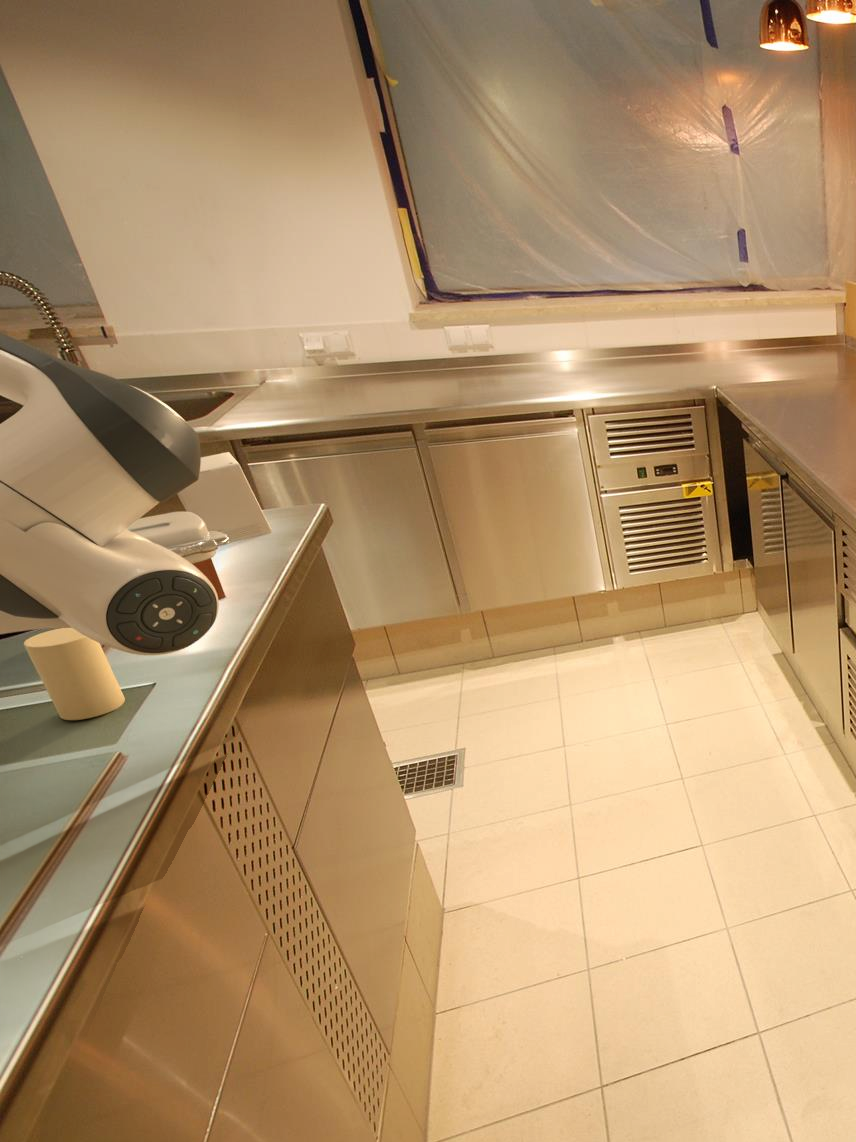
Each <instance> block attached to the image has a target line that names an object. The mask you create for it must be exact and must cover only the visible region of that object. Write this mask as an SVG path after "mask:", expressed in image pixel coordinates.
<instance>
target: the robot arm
mask: <svg viewBox="0 0 856 1142" xmlns="http://www.w3.org/2000/svg"><path fill="white" fill-rule="evenodd" d="M0 396H1V397H3V398H5V399H8V400H10V401H12V402H15V403H17V404H19V405H21V406H22V407H21V408H20V409H19V410H18V411H17V412H16V413H14V414H13V415H11V416H10V417H9V418H7V419H5V420H4V421H3V422H1V423H0V636H1V635H8V634H13V633H20V632H28V631H29V632H30V631H35V630H36V631H37V630H47V629H60V628H73V629H75V630H76V631H78V632H80V633H81V634H83V635H84V636H86V637H88V638H90V639H92V640H94V641H96V642H98V643H100V645H101V644H102V646H105V647H108V648H112V649H114V650H118V651H121V652H123V653H128V654H132V655H137V656H138V655H139V656H162V655H168V654H172V653H176V652H179V651H181V650H184V649H185V648H188V647H190V646H192V645H194V644H195V643H196V642H198V641H200V640H201V639H202V638H203V637H204V636H205V635H206V634H207V633H208V632H209V631H210V630H211V628H212V627H213V626H214V623H215V622H216V619H217V618H218V613H219V609H220V601H219V600H218V595H217V593H216V590H215V588H214V586H213V585H212V583H211V582H210V581H209V580H208V578H207V577H206V576H205V575H204V574H203V573H202V572H201V571H200V570H199V569H198V568H196V567H195V566H194V565H193V563H197V562H201V561H204V560H207V559H210V558H211V559H213V557H215V556H216V554H217V553H216V550H218V549H219V547H222V546H225V545H229V544H230V543H229V537H228V536H227V535H226V534H224V533H221V532H218V531H208V529H207V527H206V524H205V522H204V521H203V520H202V519H201V518H200V517H199V516H197V515H196V514H194V513H192V512H187V511H171V512H167V513H161V514H156V515H155V514H154V515H150V516H146V517H143V516H145V515H146V514H147V513H148V512H150V511H151V510H152V509H154V508H155V507H156V506H157V505H158V504H164V503H165V502H167V501H168V500H170V499H171V498H172V497H174V496H175V495H176V496H177V493H179V492H180V491H182V490H183V489H185V488H186V487H188V486H190V485H191V484H193V483H194V482H196V481H197V480H198V479H199V473H200V464H201V457H202V455H201V454H202V453H201V443H200V436H199V434H198V432H196V430H195V429H194V428H193V427H192V426H191V425H190V424H189V423H188V422H187V421H186V420H185V419H184V418H183V417H182V416H181V415H180V414H179V413H178V412H176V410H174V409H173V408H172V407H170V406H169V405H168V404H167V403H165V402H163V401H162V400H160V399H159V398H157V397H156V396H154V395H152V394H150V393H149V392H146V391H145V390H142V389H141V388H138V387H136V386H133V385H130V384H128V383H127V382H125V381H122V380H121V379H117V378H115V377H113V376H111V375H108V374H105V373H102V372H99V371H96V370H94V369H90V368H87V367H84V366H81V365H78V364H76V363H73V362H70V361H68V360H65V359H62V358H60V357H58V356H55V355H54V354H52V353H49V352H47V351H45V350H42V349H40V348H38V347H35V346H33V345H31V344H29V343H27V342H25V341H22V340H20V339H18V338H17V337H16V338H15V337H14V336H11V335H9V334H7V333H4V332H2V331H0Z"/></svg>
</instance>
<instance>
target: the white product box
mask: <svg viewBox="0 0 856 1142" xmlns="http://www.w3.org/2000/svg"><path fill="white" fill-rule="evenodd" d="M176 496H178V498H179V500H180V502H181V504H182V506H183V508H184V510H185V512H192V513H194V514H196V515H197V516H199V517H200V518H201V519H202V520H203V521H204V522H205V524H206V527H207V529H208V531H218V532H221V533H224V534H226V535H227V536H228V537H229V544H231V543H235V542H239V541H243V540H247V539H250V538H255V537H259V536H262V535H267V534H271V533H273V530H272V528H271V525H270V524H269V521H268V520H267V518H266V516H265V514H264V512H263V510H262V508H261V505H260V503H259V501H258V500H257V498H256V495H255V493H254V491H253V489H252V487H251V484H250V483H249V481H248V479H247V477H246V475H245V473H244V471H243V468H242V466H241V464H240V463H239V462H238V461H237V460H236V459H235V458H234V456H233V455H232V454H231V452H229V451H227V452H221V453H217V454H211V455H207V456H201V464H200V473H199V479H198V480H197V481H196V482H194V483H193V484H191V485H190V486H188V487H186V488H185V489H183V490H182V491H180V492H179V493H177V494H176Z"/></svg>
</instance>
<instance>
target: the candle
mask: <svg viewBox="0 0 856 1142" xmlns="http://www.w3.org/2000/svg"><path fill="white" fill-rule="evenodd" d="M23 646H24V648H25V650H26V652H27V654H28V657H29V658H30V660H31V662H32V664H33V666H34V668H35V670H36V672H37V674H38V677H39V678H40V680H41V682H42V685H43V686H44V688H45V690H46V691H47V692H46V693H47V694H48V696H49V698H50V700H51V702H52V704H53V706H54V707H55V709H56V712H57V714H58V716H59V717H60V718H61V719H62V720H65V721H80V720H85V719H92V718H95V717H99V716H102V715H106V714H108V713H111V712H113V711H116V710H117V709H119V708H121V706H122V705H124V703H125V701H126V697H125V695H124V693H123V691H122V689H121V686H120V685H119V683H118V680H117V678H116V676H115V673H114V672H113V670H112V667H111V665H110V663H109V661H108V658H107V656H106V654H105V652H104V650H103V648H102V645H101V643H98V642H96V641H94V640H92V639H90V638H88V637H86V636H84V635H83V634H81V633H80V632H78V631H76V630H75V629H73V628H54V629H51V630H48V631H43V632H41V633H38V634H35V635H33V636H31V637H29V638H27V639H26V640H24V642H23Z"/></svg>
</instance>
